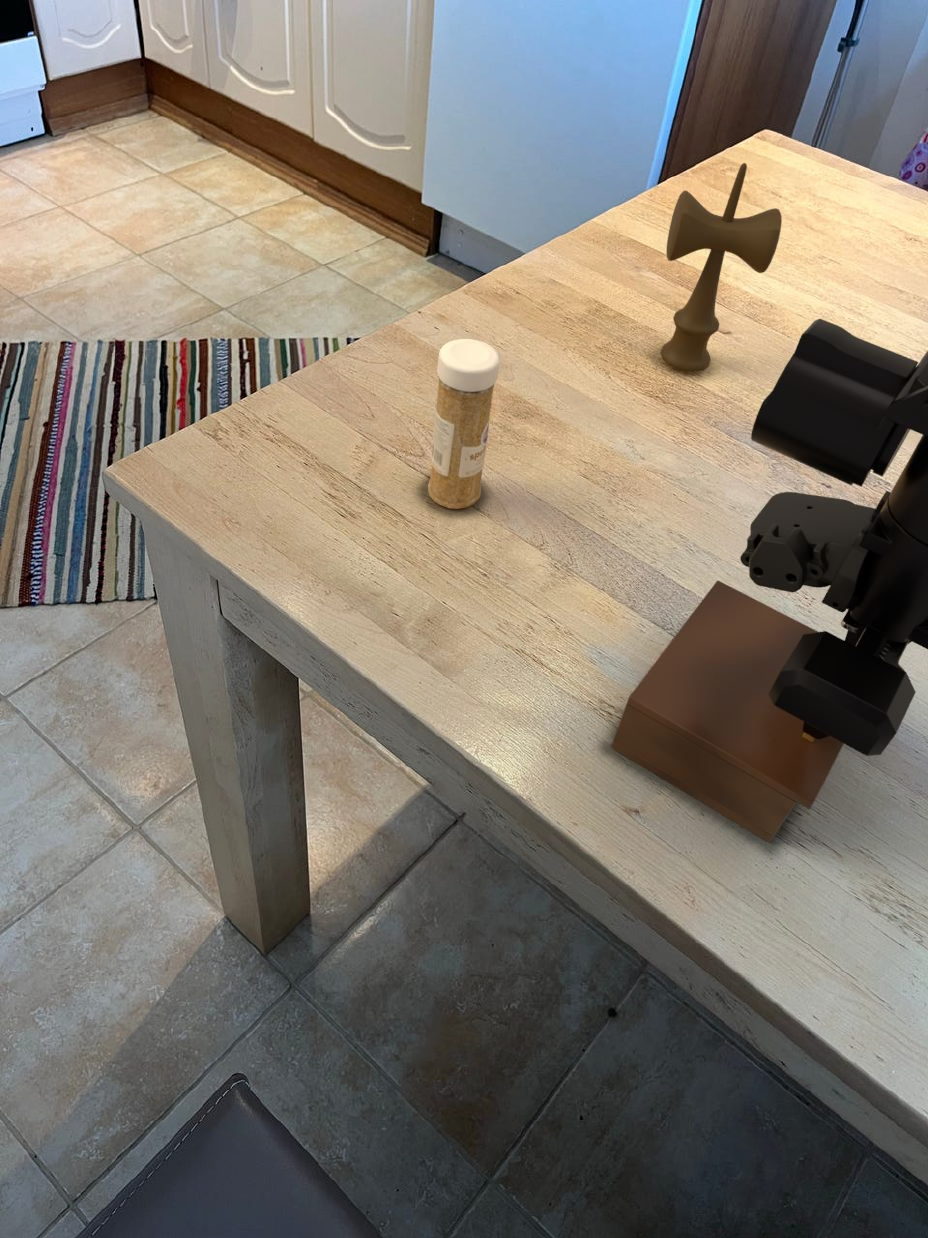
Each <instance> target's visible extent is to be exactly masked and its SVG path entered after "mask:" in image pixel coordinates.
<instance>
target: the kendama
mask: <svg viewBox="0 0 928 1238" xmlns="http://www.w3.org/2000/svg"><path fill="white" fill-rule="evenodd" d="M747 169H748V165H747V163H746V162H743V163H741V165H740V166H739V169H738V172H737V174H736V177H735V179H734V182H733V185H732V188H731V191H730V194H729V197H728V200H727V203H726V206H725V209H724V212H723V214H722V215H717V214H714V213H712V212H710V211H709V210H708V209H706V208H705V206H703V205H702V204H701V203H700V202H699V200H697V199H696V197H695V196H694V195H692V194H691V192H689V191H688V190H683V191H682V192H681V193H680V194H679V196H678V199H677V201H676V204H675V206H674V208H673V213H672V216H671V221H670V225H669V230H668V235H667V240H666V259H667V261H670V262H673V261H676V260H679V259H681V258H683V257H685V256H687V255H690V254H692V253H694V252H697V251H700V250H710V251H709V253H708V256H707V259H706V261H705V264H704V266H703V269H702V271H701V273H700V275H699V278H698V280H697V282H696V284H695V287H694V289H693V291H692V293H691V295H690V297H689V298H688V300H687V302H686V304H685V306H683V307H682V308H680V309H678V310H677V311H676V312H675V313H674V315H673V318H672V319H673V323H674V326H675V330H674V332H673V335H672V337H671V338H670V340H669V341H667V342H666V343H663V345H662V346H661V349H660V356H661V359H662V361H663V362H664V363H665V364H666V365H667V366H668V367H670V368H672V369H674V370H677V371H680V372H684V373H698V372H703V371H705V370H706V369H708V368H709V367H710V364H711V361H712V358H711V355H710V353H709V350H707V349H708V347H707V346H708V343H709V340H710V338H711V336H713V335H714V334H715V333H717V332H719V329H720V322H719V319H718V318H717V317H716V312H715V311H716V303H717V302H716V301H717V295H718V288H719V282H720V278H721V272H722V267H723V262H724V259H725V253H729V254H732V255H735V256H736V257H738V258H739V259H740V260H742V261H743V262H744V263H745V264H746V265H748V267H750V268H751V269H752V270H753V271H754V272H756V273H757V274H764V273H765V272H766V271H767V270H768V269H769V267H770V266H771V263H772V261H773V258H774V256H775V253H776V251H777V247H778V244H779V241H780V235H781V231H782V219H783V217H782V213H781V210H780V209H779V208H778V207H777V208H776V207H775V208H771V209H767V210H764V211H762V212H759V213H757V214H754V215H750V216H746V217H737V218H736V217H735V215H736V212H737V207H738V203H739V200H740V197H741V193H742V190H743V186H744V181H745V178H746V174H747Z"/></svg>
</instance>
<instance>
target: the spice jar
mask: <svg viewBox="0 0 928 1238" xmlns="http://www.w3.org/2000/svg"><path fill="white" fill-rule="evenodd" d="M438 353H439V354H438V358H437V370H436V374H437V378H438V383H437V385H438V386H437V395H436V396H437V397H436V404H435V409H434V420H433V430H432V431H433V432H432V445H431V456H430V462H431V468H430V477H429V481H428V485H427V492H428V495H429V497H430V498H431V499H432V500H433V501H434V502H435V503H436V504H438V505H440V506H441V507H445V508H448V509H455V510H457V509H458V510H459V509H465V508H469V507H471V506H473V505H475V503H477V501H478V500H479V499H480V497H481V494H482V487H481V484H482V475H483V469H484V465H485V460H486V459H485V458H486V451H487V444H488V443H487V442H488V436H489V429H490V428H489V427H490V422H491V421H490V420H491V417H490V416H491V409H492V402H493V393H494V387H495V385H496V383H497V380H498V377H499V371H500V355H499V353H498V351H497V350H496V349H495V348H494V347H493V346H492V345H490V344H488V343H486V342H483V341H481V340H476V339H471V338H459V339H454V340H451V341H449V342H446V343H445V344H444V345H443V346H442V347H441V348H440V350H439V352H438Z"/></svg>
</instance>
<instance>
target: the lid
mask: <svg viewBox="0 0 928 1238" xmlns="http://www.w3.org/2000/svg"><path fill="white" fill-rule="evenodd" d="M816 632H819V631H818V630H816V629H813V628H812V627H810V626H808V625H806V624H804V623H802V622H800V621H799V620H796V619H794V618H792V617H790V616H789V615H787V614H785V613H782V612H780V611H779V610H777V609H775V608H773V607H771V606H769V605H767V604H766V603H763V602H761V601H759V600H757V599H756V598H753V597H752V596H750V595H748V594H746V593H744V592H742V591H740V590H737V589H736V588H734V587H732V586H730V585H728V584H726V583H725V582H722V581H720V580H716V581H715V582H714V584H713V585H712V586H711V588H710V589H709V591H708V592H707V593H706V595H705V596H704V597H703V599H702V600H701V601H700V602H699V604H698V605H697V607H696V608H694V610H693V611H692V613H691V615H690V616H689V617H688V618H687V620H686V621H685V622H684V624H683V625H682V626H681V627H680V629H679V630H678V632H677V633H676V634H675V636H674V637H673V639H672V640H671V641H670V642H669V644H668V645H667V646H666V647H665V649H664V650H663V651H662V653H661V654H660V655H659V657H658V658H657V659H656V661H655V662H654V664H653V665H651V667H650V668H649V670H648V671H647V673H646V674H645V675H644V677H643V678H642V679H641V681H640V682H639V683H638V685H637V686H636V687H635V688H634V689H633V691H632V692H631V694H630V695H629V696H628V699H627V702H626V704H629V705H630V706H632V707H634V708H635V709H637V710H639V711H641V712H642V713H644V714H646V715H647V716H649V717H651V718H653V719H654V720H656V721H658V722H660V723H661V724H663V725H665V726H666V727H668V728H670V729H672V730H673V731H675V732H677V733H678V734H680V735H682V736H684V737H685V738H687V739H689V740H691V741H692V742H694V743H696V744H697V745H699V746H701V747H703V748H704V749H706V750H708V751H709V752H711V753H713V754H715V755H716V756H718V757H720V758H722V759H723V760H725V761H727V762H728V763H730V764H732V765H734V766H735V767H737V768H739V769H740V770H742V771H744V772H746V773H747V774H749V775H751V776H753V777H754V778H756V779H758V780H759V781H761V782H763V783H765V784H766V785H768V786H770V787H771V788H773V789H775V790H777V791H778V792H780V793H782V794H784V795H785V796H787V797H789V798H790V799H792V800H794V801H796V804H797V803H798V804H799V805H801V806H803V807H804V808H805V809H808V810H810V809H811V808H812V806H813V805H814V804H815V801H816V800H817V798H818V796H819V794H820V792H821V790H822V788H823V786H824V784H825V782H826V780H827V778H828V776H829V774H830V772H831V771H832V768H833V766H834V764H835V763H836V761H837V758H838V757H839V755H840V753H841V751H842V749H843V747H844V745H845V744H844V743H842V742H840V741H838V740H836V739H835V738H833V737H831V736H829V737H826V738H823V739H819V740H818V739H815V738H813V737H811V736H810V735H808V734H806V733H805V732H803V723H804V721H802V720H800V719H798V718H796V717H795V716H793V715H791V714H789V713H787V712H785V711H784V710H782V709H780V708H778V707H776V706H775V705H774V704H773V702H772V700H771V698H770V696H769V694H768V693H769V691H770V689H771V688H772V686H773V684H774V682H775V680H776V678H777V677H778V675H779V673H780V671H781V669H782V668H783V666H784V665H785V663H786V661H787V660H788V658H789V657H790V655H791V653H792V652H793V650H794V649H795V647H796V645H797V644H798V642H799V641H800V639H801V637H802V636H803V634H808V633H816Z"/></svg>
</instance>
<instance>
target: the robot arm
mask: <svg viewBox="0 0 928 1238" xmlns="http://www.w3.org/2000/svg"><path fill="white" fill-rule="evenodd" d="M910 431H913V432H915V433H918V434H920V435H922V436H921V437H920V439H919V440H918V442H917V445H916V447H915V448H914V450H913V452H912V453H911V455H910V457H909V459H908V461H907V463H906V464H905V466H904V468H903V469H902V471H901V473H900V475H899V476H898V478H897V480H896V482H895V484H894V485H893V487H892V489H891V491H889V490H886V491H885V492H884V493H883V495H882V497H881V498H880V500H879V502H878V504H877V505H876V507H875V508H874V507H870V506H865V505H861V504H857V503H854V502H853V501H851V500H848V499H843V498H837V497H829V496H823V495H816V494H809V493H802V492H796V491H795V492H794V491H784V492H779V493H776V494H774V495H772V496H771V497H770V498H769V500H768V501H767V502H766V504H764V506H763V507H762V509H761V510H760V511H759V512H758V514H757V515H756V517H755V518H754V519H753V521H752V522H751V523H750V528H749V529H750V534H749V536H747V539H746V548H745V549H744V550H743V552H742V554H741V555H740V557H739V559H740V563H741V564H742V565H743V566H745V567H747V568H748V574H749V575H748V576H749V579H750V580H751V581H752V582H753V583H754V584H755V585H756V586H759V587H762V588H768V589H773V590H777V591H782V592H788V593H796V592H798V591H799V590H801V589H802V588H803V586H805V587H810V588H826V587H829V588H828V589H827V591H826V593H825V595H824V596H823V598H822V600H821V604H824V605H826V606H827V607H830V608H831V609H832V610H833V609H834V610H836V611H838V612H840V613H844V612H846V613H845V615H844V617H843V618H842V619H841V622H840V626H841V627H842V628H843V629H845V630H847V631H846V635H845V638H844V639H842V638H840V637H838V636H837V635H835V634H832V633H830V632H829V631H826V630H824V631H818V632H816V633H808V634H803V636H802V637H801V639H800V641H799V642H798V644H797V645H796V647H795V649H794V650H793V652H792V653H791V655H790V657H789V658H788V660H787V661H786V663H785V665H784V666H783V668H782V669H781V671H780V673H779V675H778V677H777V678H776V680H775V682H774V684H773V686H772V688H771V689H770V691H769V693H768V694H769V696H770V698H771V700H772V702H773V704H774V705H775V706H776V707H778V708H780V709H782V710H784V711H785V712H787V713H789V714H791V715H793V716H795V717H796V718H798V719H800V720H802V721H804V723H803V732H805V733H806V734H808V735H810V736H811V737H813V738H815V739H818V740H819V739H823V738H826V737H829V736H831V737H833V738H835V739H836V740H838V741H840V742H842V743H844V745H845V746H847V747H849V748H851V749H853V750H854V751H857V752H858V753H860V754H862V755H864V756H866V757H872V756H881V755H882V753H884V751H885V750H886V748H887V747H888V746H889V744H890V743H891V741H892V740H893V739H894V737H895V736H896V735H897V733H898V731H899V729H900V727H901V724H902V723H903V720H904V718H905V716H906V714H907V711H908V709H909V708H910V706H911V703H912V702H913V699H914V697H915V695H916V692H917V691H916V690H915V687H914V685H913V684H912V681H911V679H910V677H909V675H908V673H907V671H906V670H905V669H904V668H903V667H902V666H901V665H900V660H901V658H902V657H903V654H904V652H905V650H906V648H907V647H908V645H909V644H910V643H914V644H916V645H918V646H920V647H922V648H924V649H926V650H928V350H926V352H925V354H924V355H923V356H922V358H921V359H920V361H917V360H914V359H913V358H910V357H908V356H904V355H902V354H899V353H897V352H895V351H892V350H889V349H887V348H884V347H882V346H880V345H877V344H874V343H872V342H869V341H867V340H864V339H862V338H860V337H858V336H855V335H853V334H852V333H851V332H849V331H848V330H846V329H845V328H843V326H840V325H837V324H835V323H833V322H830V321H828V320H825V319H823V318H818V319H815V320H814V321H813V322H812V323H811V324H810V325H809V326H808V328H807V329H806V330H805V331H803V332H802V334H801V336H800V337H799V340H798V343H797V345H796V348H795V350H794V353H793V354H792V355H791V357H790V359H789V360H788V362H787V363H786V365H785V367H784V368H783V370H782V372H781V374H780V375H779V377H778V379H777V381H776V383H775V384H774V387H773V389H772V390H771V392H769V394H768V395H767V396H766V397H765V398H764V399H763V401H762V403H761V404H760V407H759V410H758V412H757V414H756V417H755V420H754V422H753V426H752V430H751V436H750V439H751V441H752V442H754V443H756V444H759V445H761V446H763V447H765V448H767V449H770V450H771V451H774V452H777V453H779V454H781V455H782V456H785V457H787V458H789V459H792V460H794V461H796V462H798V463H800V464H803V465H804V466H806V467H809V468H812V469H814V470H815V471H817V472H820V473H823V474H824V475H827V476H829V477H831V478H834V479H836V480H837V481H840V482H842V483H844V484H847V485H848V486H853V485H856V486H858V487H863V485H864V483H865V482H866V480H867V478H868V477H869V475H870V473H871V471H872V474H875V475H877V476H880V477H884V475H885V474H886V472H887V471H888V469H889V467H890V466H891V464H892V463H893V461H894V459H895V457H896V456H897V454H898V453H899V450H900V449H901V447H902V446H903V443H904V442H905V440H906V438H907V437H908V435H909V433H910Z"/></svg>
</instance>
